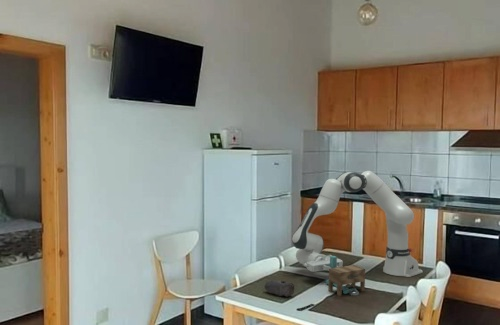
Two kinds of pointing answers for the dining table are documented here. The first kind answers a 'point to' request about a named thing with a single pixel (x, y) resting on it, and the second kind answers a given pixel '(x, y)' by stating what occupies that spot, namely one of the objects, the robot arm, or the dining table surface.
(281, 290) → the perforated stone tool
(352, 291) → the metal token
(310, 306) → the cleaver
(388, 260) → the robot arm
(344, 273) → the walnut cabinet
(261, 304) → the dining table surface
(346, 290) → the teal post stand
